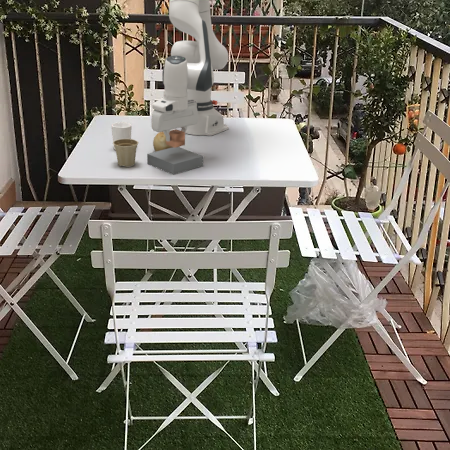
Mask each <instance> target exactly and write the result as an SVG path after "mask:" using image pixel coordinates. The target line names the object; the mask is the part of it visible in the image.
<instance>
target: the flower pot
mask: <svg viewBox="0 0 450 450" xmlns="http://www.w3.org/2000/svg"><path fill="white" fill-rule="evenodd" d="M138 144H139V141H138V140H136V139H133V138H131V139H118V140H115V141H114V142H113V141H112V145H113V148H114V147H115V149H116V150H115V152H116V153H115V154H116V159H117V165H118V166H120V167H126V168H127V167H128V168H129V167H133V166H134V165H135V163H136V155H137V148H138Z"/></svg>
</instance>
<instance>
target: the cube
mask: <svg viewBox="0 0 450 450" xmlns="http://www.w3.org/2000/svg"><path fill="white" fill-rule="evenodd" d="M169 135H170V136H172V141H169V142H168V141H166V145H169V146H171V147H174V148H176V147H180V148H181V147H183V146H186V133H185V132H183V131H181V130H180V129H178V128H176V129H172V130H170V133H169Z"/></svg>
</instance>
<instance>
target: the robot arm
mask: <svg viewBox="0 0 450 450" xmlns="http://www.w3.org/2000/svg"><path fill="white" fill-rule="evenodd" d="M210 2H211V1H210V0H169V2H168V4H169V6H168V16H169V21H170V23H171V25H173V27H174V28H176V29H177V30H178V31H180V32H182V33H184V34H186V35H189V36H191V37H192V38H194V39H195V40H179V41H176V42H175V43H174V44H173V45H172V47H171V51H170V55H169V56H168V57H166V58H165V61H164V67H163V68H162V76H161V77H162V81H161V82H162V84H163V85H164V90H163V97H161V98H159V99H158V100H156V101H154V102H153V103H152V104H151V107H152V109H153V110H152V113H151V122H150V123H151V124H150V125H151V126H150V127H151V129H152V130H153V131H154V132H157V133H159V132H164V134H165V136H166V141H168V142H169V141H172V136H170V135H169V133H170V131H171V130H175V129H180V128H181V130H180V131H183V132H185V134H188V135H193V136H208V137H209V136H214V135H217V134H220V133H222V132H224V131H227V130H230V129H229V128H230V127H229V125H227V124H225V120H224V119H225V118H224V115H222V114H221V113H220V112H219V111H218V110H217V109H215V108H214V106H217V105H218V102H219V101H218V100H215V99H211V98H212V97H211V96H212V87H213V86H214V82H215V74H214V70H215V71H216V70H222V69H224V68H225V67H226V65H227V64H228V61H229V52H228V50H227V47H225V46H224V45H223V44H222V43H221V42H220V41H219V39H218V38H217V36H216V34H215V32H214V30H213V26H212V18H211V17H212V16H211V4H210Z"/></svg>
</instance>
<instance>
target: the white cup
mask: <svg viewBox="0 0 450 450" xmlns="http://www.w3.org/2000/svg"><path fill="white" fill-rule="evenodd" d="M111 136H112V143H113V142H114V141H115V140H118V139H132V124H131V123H129V122H125V121H123V122H122V121H121V122H120V121H118V122H113V123H112V124H111ZM113 149H114V151H116V149H115V147H114V146H113Z"/></svg>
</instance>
